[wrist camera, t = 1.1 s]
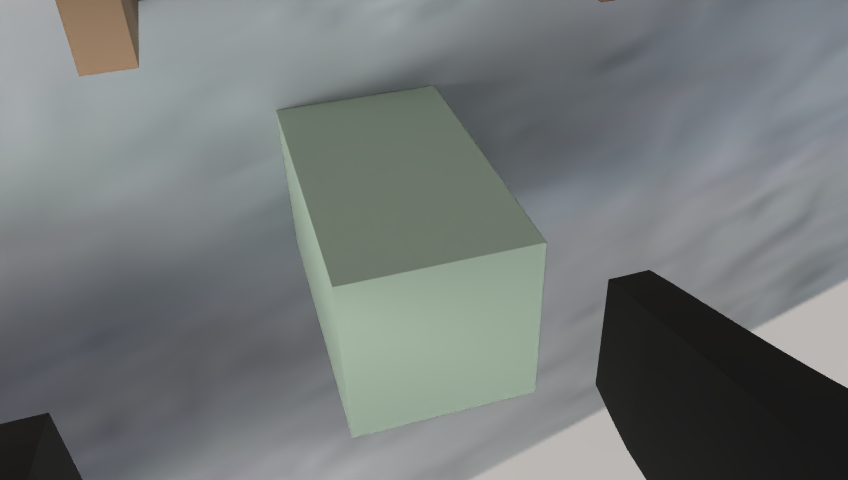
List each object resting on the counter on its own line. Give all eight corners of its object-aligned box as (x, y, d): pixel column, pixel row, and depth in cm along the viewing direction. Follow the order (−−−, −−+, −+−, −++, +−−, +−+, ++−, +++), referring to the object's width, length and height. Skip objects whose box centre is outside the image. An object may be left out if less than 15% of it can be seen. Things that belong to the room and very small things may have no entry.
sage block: (437, 215, 22) (534, 391, 17) (296, 242, 21) (352, 438, 16) (433, 85, 20) (546, 242, 14) (275, 110, 19) (332, 287, 14)
